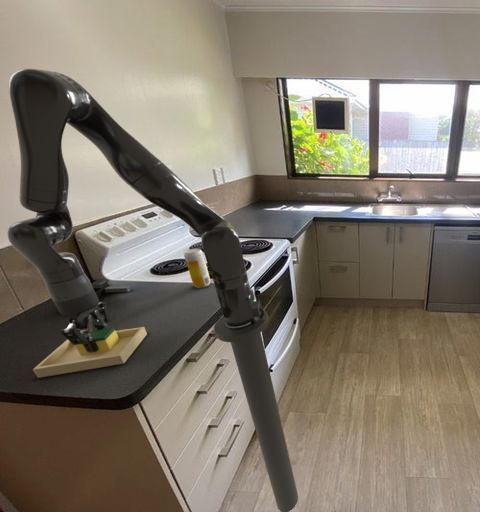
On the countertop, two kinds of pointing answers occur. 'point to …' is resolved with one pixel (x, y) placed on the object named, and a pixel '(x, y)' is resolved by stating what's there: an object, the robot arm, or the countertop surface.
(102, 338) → the sponge
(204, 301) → the countertop surface
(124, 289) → the door handle
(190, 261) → the white and yellow cylinder
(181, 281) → the countertop surface
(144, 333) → the tray
